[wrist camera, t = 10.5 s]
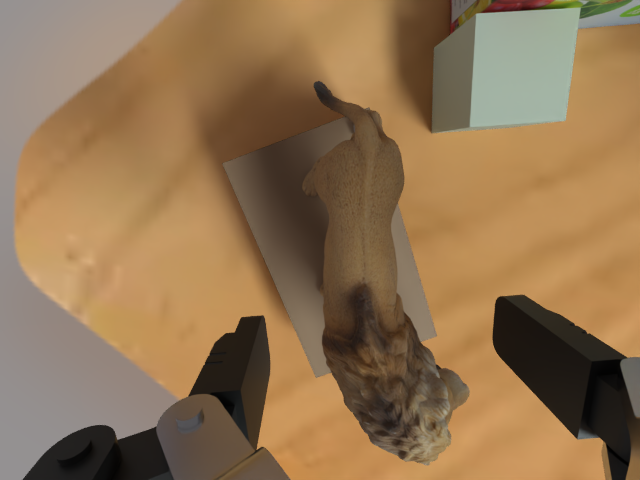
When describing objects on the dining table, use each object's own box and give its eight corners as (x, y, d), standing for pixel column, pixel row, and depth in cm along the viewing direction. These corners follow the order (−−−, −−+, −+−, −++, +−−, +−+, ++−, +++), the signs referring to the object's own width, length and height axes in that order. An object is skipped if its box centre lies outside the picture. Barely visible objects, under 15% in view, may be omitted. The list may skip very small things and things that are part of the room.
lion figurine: (417, 327, 19) (510, 471, 11) (333, 349, 19) (357, 509, 11) (365, 70, 15) (448, -37, 7) (260, 99, 15) (205, 32, 7)
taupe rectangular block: (354, 118, 21) (369, 107, 16) (410, 300, 24) (437, 336, 19) (240, 161, 21) (222, 163, 16) (313, 334, 25) (316, 377, 20)
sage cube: (512, 43, 20) (580, 7, 15) (505, 128, 21) (565, 120, 16) (433, 48, 19) (476, 13, 15) (430, 133, 21) (469, 127, 16)
